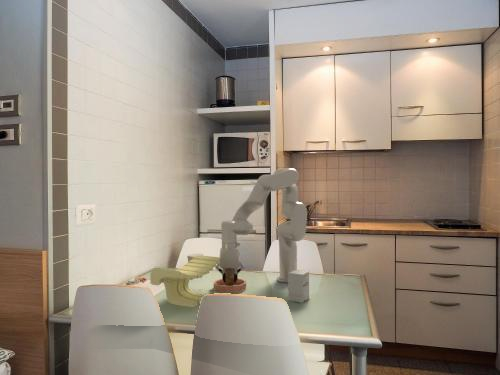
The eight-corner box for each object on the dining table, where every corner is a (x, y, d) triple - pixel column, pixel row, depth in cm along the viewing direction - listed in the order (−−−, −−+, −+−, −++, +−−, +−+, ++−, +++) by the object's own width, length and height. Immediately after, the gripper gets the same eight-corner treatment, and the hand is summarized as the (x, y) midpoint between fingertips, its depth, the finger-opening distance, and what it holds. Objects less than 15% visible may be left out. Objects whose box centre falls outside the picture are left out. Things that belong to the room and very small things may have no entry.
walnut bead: (235, 283, 203) (235, 267, 203) (234, 285, 198) (234, 269, 198) (225, 283, 204) (225, 267, 203) (224, 285, 199) (224, 269, 198)
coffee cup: (201, 278, 223) (200, 256, 223) (185, 277, 225) (184, 256, 225) (206, 274, 233) (206, 253, 232) (191, 273, 234) (190, 253, 234)
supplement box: (303, 303, 177) (302, 274, 177) (288, 300, 181) (287, 272, 181) (309, 298, 184) (309, 271, 183) (295, 296, 188) (294, 269, 187)
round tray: (246, 284, 209) (246, 278, 208) (245, 293, 193) (245, 286, 193) (216, 284, 209) (216, 278, 209) (212, 294, 193) (211, 286, 193)
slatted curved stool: (193, 290, 201) (193, 254, 200) (220, 294, 193) (219, 257, 192) (151, 307, 175) (150, 267, 174) (179, 313, 167) (178, 270, 166)
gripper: (246, 244, 204) (247, 279, 204) (213, 244, 204) (214, 280, 205) (245, 246, 196) (246, 283, 197) (211, 247, 197) (212, 284, 198)
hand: (230, 281), depth 201 cm, fingers closed on walnut bead, 4 cm apart
